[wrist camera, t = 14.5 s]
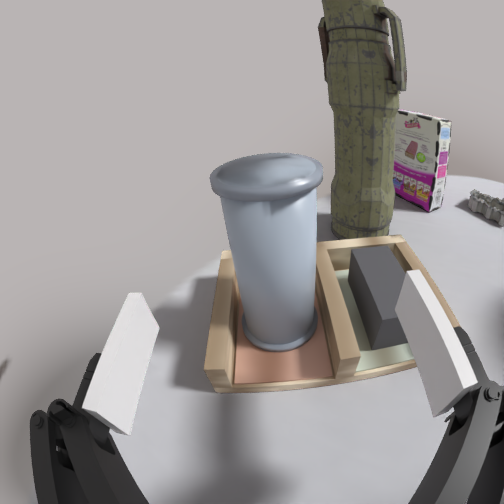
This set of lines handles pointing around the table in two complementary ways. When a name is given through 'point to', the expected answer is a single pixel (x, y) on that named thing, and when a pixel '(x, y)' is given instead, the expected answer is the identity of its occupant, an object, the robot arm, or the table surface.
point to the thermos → (362, 111)
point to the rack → (324, 339)
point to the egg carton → (487, 206)
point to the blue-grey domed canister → (273, 244)
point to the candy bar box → (421, 158)
